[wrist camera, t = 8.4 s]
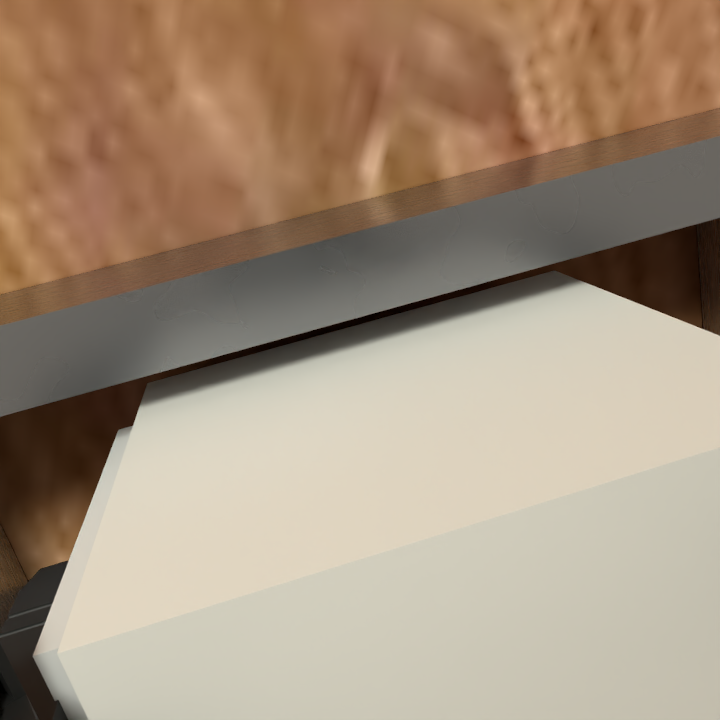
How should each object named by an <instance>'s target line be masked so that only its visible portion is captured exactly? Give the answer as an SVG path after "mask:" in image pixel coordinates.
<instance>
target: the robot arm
mask: <svg viewBox="0 0 720 720" xmlns="http://www.w3.org/2000/svg"><path fill="white" fill-rule="evenodd" d="M132 427H133V426H130V427H126V428H123V429H119V430H118V432H117V435H116V438H115V440H114V443H113V446H112V448H111V451H110V453H109V456H108V459H107V461H106V464H105V467H104V469H103V472H102V475H101V477H100V480H99V482H98V485H97V488H96V490H95V493H94V496H93V498H92V501H91V504H90V506H89V509H88V511H87V514H86V517H85V519H84V522H83V525H82V527H81V530H80V532H79V535H78V538H77V540H76V543H75V546H74V548H73V551H72V554H71V556H70V559H69V561H65V562H62V563H59V564H55V565H52V566H48V567H45V568H42V569H40V570H39V571H38V572H37V573H36V574H35V575H34V576H33V577H32V579H31V580H30V581H29V582H28V583H27V584H26V585H25V586H24V587H23V588H22V589H21V590H20V591H19V593H18V595H17V597H16V599H15V601H14V603H13V606H12V608H11V610H10V612H9V614H8V617H9V619H7V620H6V621H5V623H4V625H3V627H2V629H1V631H0V720H88V718H87V715H86V713H85V711H84V709H83V707H82V705H81V703H80V701H79V699H78V697H77V695H76V692H75V690H74V688H73V686H72V684H71V682H70V680H69V678H68V676H67V674H66V672H65V669H64V667H63V665H62V663H61V661H60V659H59V657H58V655H57V652H58V649H59V646H60V643H61V640H62V637H63V634H64V631H65V628H66V625H67V622H68V619H69V616H70V613H71V610H72V607H73V604H74V601H75V598H76V595H77V592H78V589H79V586H80V583H81V580H82V577H83V574H84V571H85V568H86V565H87V562H88V559H89V556H90V553H91V550H92V547H93V544H94V541H95V538H96V535H97V532H98V529H99V526H100V523H101V520H102V517H103V514H104V511H105V508H106V505H107V502H108V499H109V496H110V493H111V490H112V487H113V484H114V481H115V478H116V475H117V472H118V469H119V466H120V463H121V460H122V457H123V454H124V451H125V448H126V445H127V442H128V439H129V436H130V433H131V430H132Z"/></svg>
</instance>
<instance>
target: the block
mask: <svg viewBox="0 0 720 720" xmlns="http://www.w3.org/2000/svg"><path fill="white" fill-rule="evenodd" d="M57 655H58V657H59V659H60V661H61V663H62V665H63V667H64V669H65V672H66V674H67V676H68V678H69V680H70V682H71V684H72V686H73V688H74V690H75V692H76V695H77V697H78V699H79V701H80V703H81V705H82V707H83V709H84V711H85V713H86V715H87V718H88V720H720V336H719V335H717V334H714V333H711V332H709V331H706V330H704V329H701V328H699V327H696V326H694V325H691V324H689V323H686V322H684V321H681V320H679V319H676V318H674V317H671V316H668V315H666V314H663V313H661V312H658V311H656V310H653V309H651V308H648V307H646V306H643V305H641V304H638V303H636V302H633V301H631V300H628V299H626V298H623V297H620V296H618V295H615V294H613V293H610V292H608V291H605V290H603V289H600V288H598V287H595V286H593V285H590V284H588V283H585V282H583V281H580V280H577V279H575V278H572V277H570V276H567V275H565V274H562V273H560V272H557V271H555V270H554V271H550V272H547V273H543V274H540V275H536V276H532V277H529V278H525V279H522V280H518V281H514V282H511V283H507V284H503V285H500V286H496V287H493V288H489V289H485V290H482V291H478V292H475V293H471V294H467V295H464V296H460V297H456V298H453V299H449V300H446V301H442V302H438V303H435V304H431V305H428V306H424V307H420V308H417V309H413V310H409V311H406V312H402V313H399V314H395V315H391V316H388V317H384V318H381V319H377V320H373V321H370V322H366V323H362V324H359V325H355V326H352V327H348V328H344V329H341V330H337V331H334V332H330V333H326V334H323V335H319V336H315V337H312V338H308V339H305V340H301V341H297V342H294V343H290V344H287V345H283V346H279V347H276V348H272V349H268V350H265V351H261V352H258V353H254V354H250V355H247V356H243V357H240V358H236V359H232V360H229V361H225V362H221V363H218V364H214V365H211V366H207V367H203V368H200V369H196V370H193V371H189V372H185V373H182V374H178V375H174V376H171V377H167V378H164V379H160V380H156V381H153V382H149V383H147V386H146V389H145V392H144V395H143V398H142V401H141V404H140V407H139V410H138V412H137V415H136V418H135V421H134V424H133V427H132V430H131V433H130V436H129V439H128V442H127V445H126V448H125V451H124V454H123V457H122V460H121V463H120V466H119V469H118V472H117V475H116V478H115V481H114V484H113V487H112V490H111V493H110V496H109V499H108V502H107V505H106V508H105V511H104V514H103V517H102V520H101V523H100V526H99V529H98V532H97V535H96V538H95V541H94V544H93V547H92V550H91V553H90V556H89V559H88V562H87V565H86V568H85V571H84V574H83V577H82V580H81V583H80V586H79V589H78V592H77V595H76V598H75V601H74V604H73V607H72V610H71V613H70V616H69V619H68V622H67V625H66V628H65V631H64V634H63V637H62V640H61V643H60V646H59V649H58V652H57Z"/></svg>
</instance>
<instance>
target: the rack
mask: <svg viewBox="0 0 720 720" xmlns="http://www.w3.org/2000/svg"><path fill="white" fill-rule="evenodd" d="M695 224H697V239H698V255H699V270H700V286H701V301H702V317H703V329H704V330H706V331H709V332H711V333H714V334H717V335H719V336H720V108H718V109H715V110H711V111H707V112H703V113H699V114H695V115H691V116H688V117H684V118H680V119H676V120H672V121H668V122H664V123H661V124H657V125H653V126H649V127H645V128H641V129H637V130H634V131H630V132H626V133H622V134H618V135H614V136H610V137H607V138H603V139H599V140H595V141H591V142H587V143H583V144H580V145H576V146H572V147H568V148H564V149H560V150H556V151H553V152H549V153H545V154H541V155H537V156H533V157H530V158H526V159H522V160H518V161H514V162H510V163H506V164H503V165H499V166H495V167H491V168H487V169H483V170H479V171H476V172H472V173H468V174H464V175H460V176H456V177H452V178H449V179H445V180H441V181H437V182H433V183H429V184H425V185H422V186H418V187H414V188H410V189H406V190H402V191H398V192H395V193H391V194H387V195H383V196H379V197H375V198H371V199H368V200H364V201H360V202H356V203H352V204H348V205H344V206H341V207H337V208H333V209H329V210H325V211H321V212H318V213H314V214H310V215H306V216H302V217H298V218H294V219H291V220H287V221H283V222H279V223H275V224H271V225H267V226H264V227H260V228H256V229H252V230H248V231H244V232H240V233H237V234H233V235H229V236H225V237H221V238H217V239H213V240H210V241H206V242H202V243H198V244H194V245H190V246H186V247H183V248H179V249H175V250H171V251H167V252H163V253H159V254H156V255H152V256H148V257H144V258H140V259H136V260H133V261H129V262H125V263H121V264H117V265H113V266H109V267H106V268H102V269H98V270H94V271H90V272H86V273H82V274H79V275H75V276H71V277H67V278H63V279H59V280H55V281H52V282H48V283H44V284H40V285H36V286H32V287H28V288H25V289H21V290H17V291H13V292H9V293H5V294H1V295H0V417H1V416H4V415H8V414H12V413H15V412H19V411H22V410H26V409H30V408H33V407H37V406H41V405H44V404H48V403H51V402H55V401H59V400H62V399H66V398H69V397H73V396H77V395H80V394H84V393H88V392H91V391H95V390H98V389H102V388H106V387H109V386H113V385H116V384H120V383H124V382H127V381H131V380H135V379H138V378H142V377H145V376H149V375H153V374H156V373H160V372H163V371H167V370H171V369H174V368H178V367H182V366H185V365H189V364H192V363H196V362H200V361H203V360H207V359H211V358H214V357H218V356H221V355H225V354H229V353H232V352H236V351H239V350H243V349H247V348H250V347H254V346H258V345H261V344H265V343H268V342H272V341H276V340H279V339H283V338H286V337H290V336H294V335H297V334H301V333H305V332H308V331H312V330H315V329H319V328H323V327H326V326H330V325H333V324H337V323H341V322H344V321H348V320H352V319H355V318H359V317H362V316H366V315H370V314H373V313H377V312H380V311H384V310H388V309H391V308H395V307H399V306H402V305H406V304H409V303H413V302H417V301H420V300H424V299H427V298H431V297H435V296H438V295H442V294H446V293H449V292H453V291H456V290H460V289H464V288H467V287H471V286H475V285H478V284H482V283H485V282H489V281H493V280H496V279H500V278H503V277H507V276H511V275H514V274H518V273H522V272H525V271H529V270H532V269H536V268H540V267H543V266H547V265H550V264H554V263H558V262H561V261H565V260H569V259H572V258H576V257H579V256H583V255H587V254H590V253H594V252H597V251H601V250H605V249H608V248H612V247H616V246H619V245H623V244H626V243H630V242H634V241H637V240H641V239H644V238H648V237H652V236H655V235H659V234H663V233H666V232H670V231H673V230H677V229H681V228H684V227H688V226H691V225H695ZM27 583H28V581H27V579H26V576H25V574H24V572H23V570H22V568H21V566H20V564H19V562H18V560H17V558H16V555H15V553H14V551H13V549H12V547H11V545H10V543H9V541H8V539H7V537H6V534H5V532H4V530H3V528H2V526H1V524H0V631H1V629H2V627H3V625H4V623H5V621H6V620H7V619H9V617H8V614H9V612H10V610H11V608H12V606H13V603H14V601H15V599H16V597H17V595H18V593H19V591H20V590H21V589H22V588H23V587H24V586H25V585H26V584H27Z"/></svg>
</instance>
